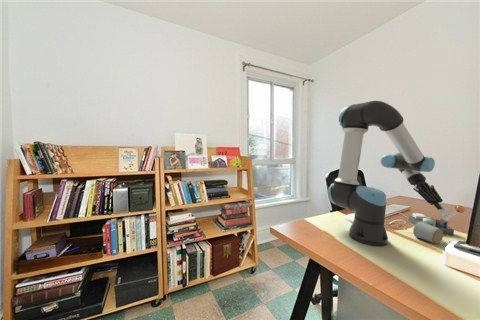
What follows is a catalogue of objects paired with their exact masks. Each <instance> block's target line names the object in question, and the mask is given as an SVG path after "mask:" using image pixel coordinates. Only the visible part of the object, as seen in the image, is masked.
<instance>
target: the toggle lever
mask: <svg viewBox="0 0 480 320" xmlns="http://www.w3.org/2000/svg"><path fill="white" fill-rule="evenodd" d="M464 212H466V208H465V206H462V205H461V204H460V205H459V204H457V205H455V207H454V211H452V212H450V213H451V214H450V215H448V216H445V218H442V219H443V220H442V221H444V224H445V223H446V222H447V221H448V222H449V221H450V220H451V219H452V218H453V217H455V216H456V215H457V214H459V213H464Z"/></svg>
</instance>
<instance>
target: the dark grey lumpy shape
mask: <svg viewBox="0 0 480 320" xmlns="http://www.w3.org/2000/svg"><path fill="white" fill-rule="evenodd" d="M425 217H426V218H428V219H432V220H434V221H433V225H431V226H434V227H437V228H439V229H440V230H442V232H443V235H446V234H448V235H449V236H454V234H455V229H454V228H452V227H450V226H449V224H448V223H449V220H448V221H447V222H446V223H445V224H444V221H442V220H443V219H444V218H440V219H437V218H436V219H435V218H433V217H429V216H425ZM420 221H421V222H423V219H418V218H415V217H414V216H413V215H408V222H410V223H411V224H413V225H414V226H415V225H416V223H418V222H420Z"/></svg>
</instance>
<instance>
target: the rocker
mask: <svg viewBox="0 0 480 320" xmlns="http://www.w3.org/2000/svg"><path fill="white" fill-rule="evenodd" d="M412 216H414V217H415V218H418V219H423V218H426V217H427V216H426V215H424V214H423V213H417V212H416V213H415V212H413V213H412Z"/></svg>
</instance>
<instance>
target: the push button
mask: <svg viewBox="0 0 480 320" xmlns="http://www.w3.org/2000/svg"><path fill="white" fill-rule="evenodd" d="M433 221H434V220H432V219H428V218H423V222H424V223H426V224H429V225H433Z"/></svg>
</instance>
